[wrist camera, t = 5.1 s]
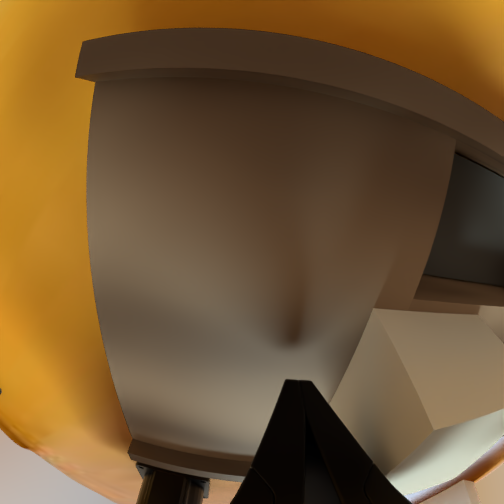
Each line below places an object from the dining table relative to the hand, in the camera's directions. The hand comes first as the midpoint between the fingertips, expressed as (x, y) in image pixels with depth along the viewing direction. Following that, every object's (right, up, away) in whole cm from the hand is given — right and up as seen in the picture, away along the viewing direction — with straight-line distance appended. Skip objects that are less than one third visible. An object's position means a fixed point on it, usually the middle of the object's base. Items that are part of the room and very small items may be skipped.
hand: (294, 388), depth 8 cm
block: (+5, 0, +1) cm, 5 cm away
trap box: (+7, 0, +4) cm, 8 cm away
